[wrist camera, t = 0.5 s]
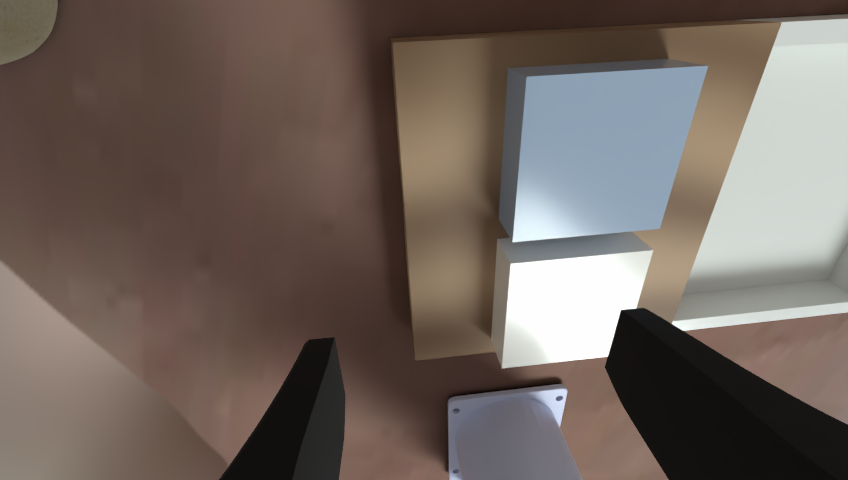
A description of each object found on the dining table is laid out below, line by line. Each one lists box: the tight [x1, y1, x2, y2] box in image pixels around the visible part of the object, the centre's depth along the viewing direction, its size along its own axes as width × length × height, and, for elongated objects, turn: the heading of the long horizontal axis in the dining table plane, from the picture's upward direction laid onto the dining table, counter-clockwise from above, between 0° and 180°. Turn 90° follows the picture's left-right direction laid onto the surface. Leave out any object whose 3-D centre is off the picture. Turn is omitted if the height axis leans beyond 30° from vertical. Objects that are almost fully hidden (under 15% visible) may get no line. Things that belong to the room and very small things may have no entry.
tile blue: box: [499, 59, 708, 242], centre depth 15 cm, size 6×6×2 cm
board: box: [390, 20, 782, 361], centre depth 19 cm, size 15×14×2 cm
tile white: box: [491, 231, 653, 368], centre depth 19 cm, size 6×6×2 cm
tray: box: [672, 14, 848, 331], centre depth 20 cm, size 15×12×2 cm
